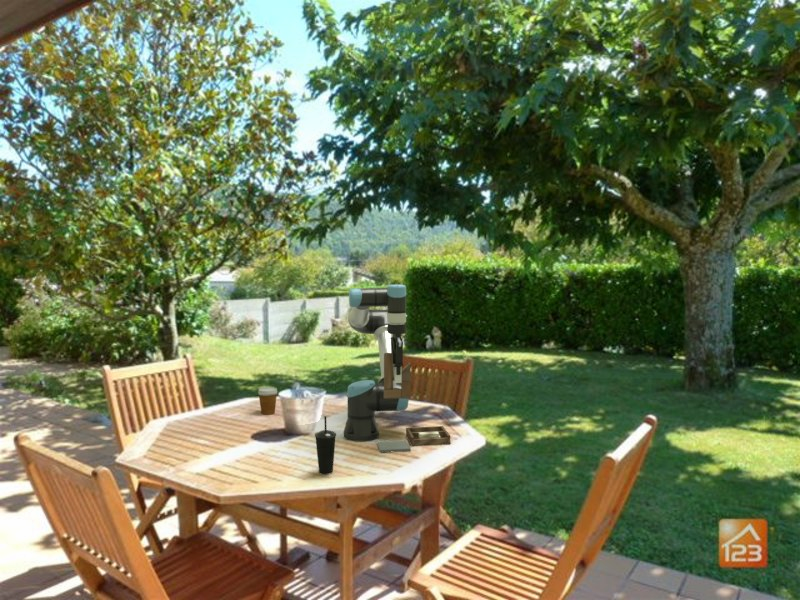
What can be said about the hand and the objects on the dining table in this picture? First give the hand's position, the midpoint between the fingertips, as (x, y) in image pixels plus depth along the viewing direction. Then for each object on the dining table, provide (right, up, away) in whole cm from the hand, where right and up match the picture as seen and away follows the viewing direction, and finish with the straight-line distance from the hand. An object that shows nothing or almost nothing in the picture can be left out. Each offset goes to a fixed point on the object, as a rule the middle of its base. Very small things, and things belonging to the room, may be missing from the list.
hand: (396, 381), depth 234 cm
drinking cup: (-25, -29, -26) cm, 46 cm away
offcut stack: (+13, -26, +7) cm, 30 cm away
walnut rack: (+13, -26, +10) cm, 31 cm away
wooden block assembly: (0, -7, +1) cm, 7 cm away
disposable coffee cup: (-63, -23, +53) cm, 86 cm away
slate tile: (-1, -27, +1) cm, 27 cm away
